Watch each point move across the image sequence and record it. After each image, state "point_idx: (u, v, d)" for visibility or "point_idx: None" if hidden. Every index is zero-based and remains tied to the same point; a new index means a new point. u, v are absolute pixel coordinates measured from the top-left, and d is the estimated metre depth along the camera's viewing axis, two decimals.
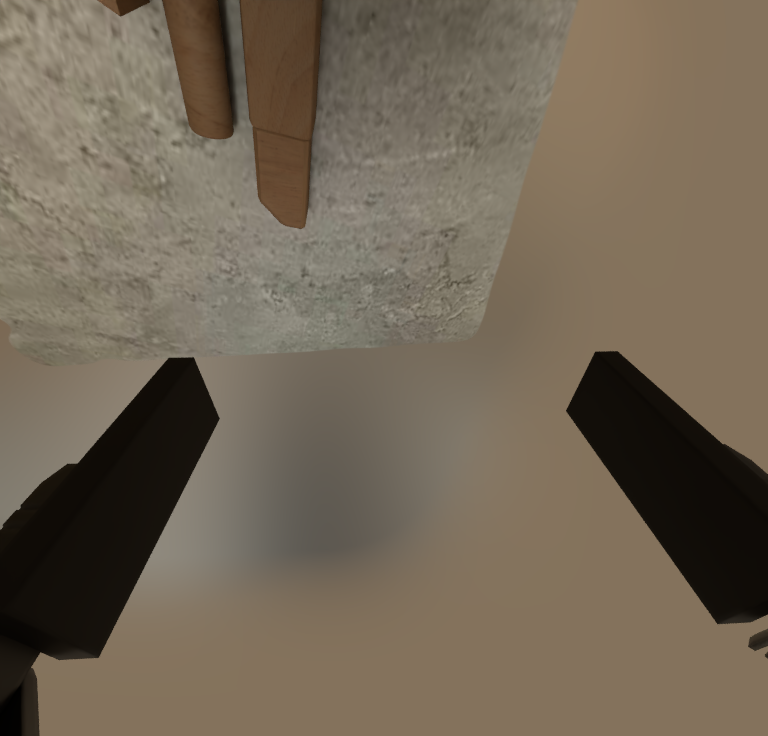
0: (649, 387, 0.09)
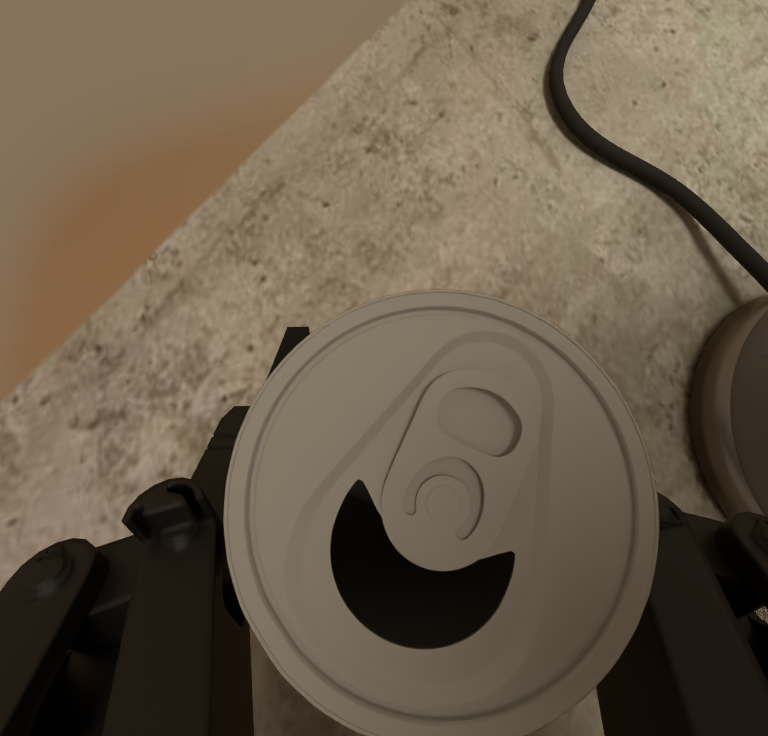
0: None
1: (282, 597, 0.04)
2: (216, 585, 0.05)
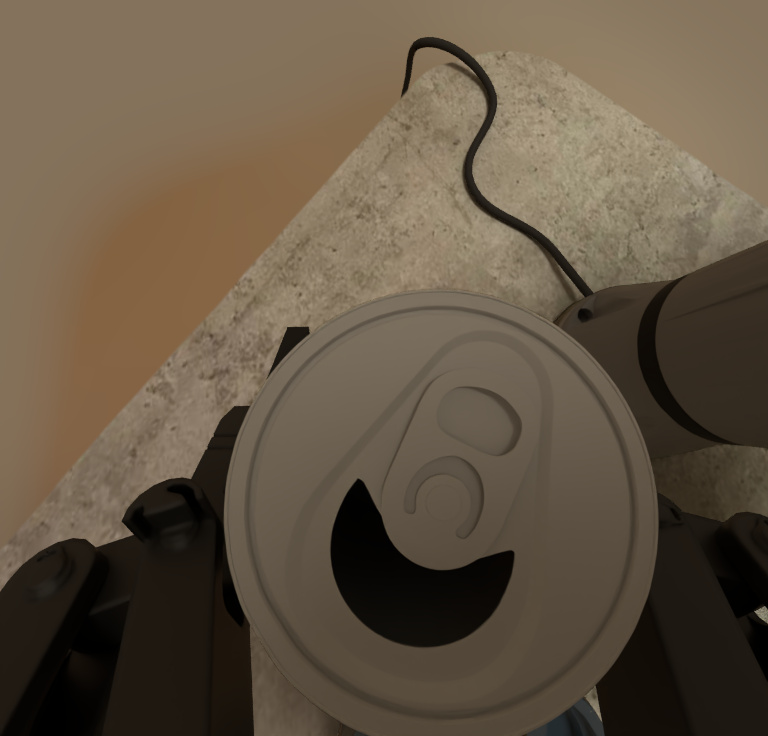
0: None
1: (282, 596, 0.04)
2: (216, 585, 0.05)
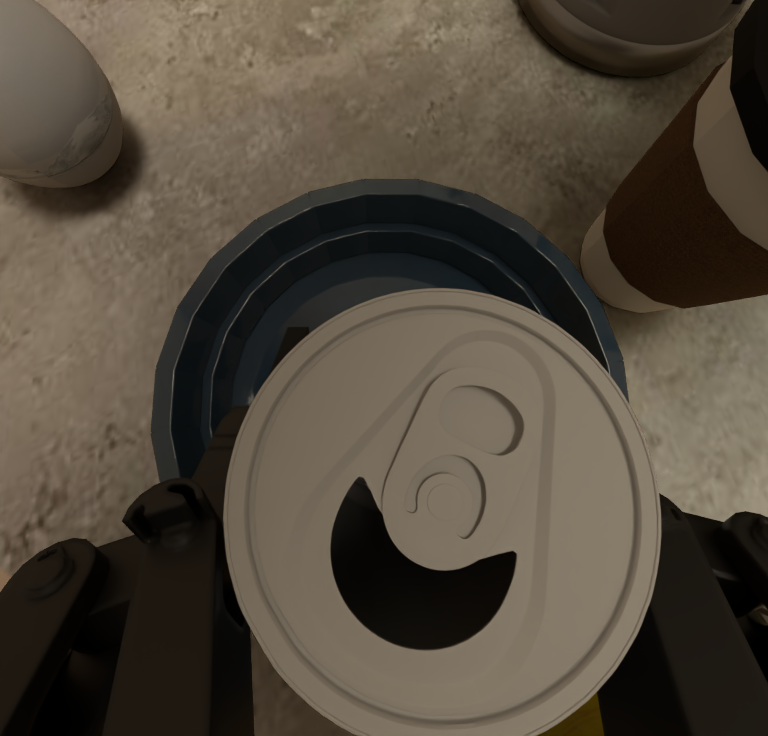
0: None
1: (281, 595, 0.04)
2: (216, 585, 0.05)
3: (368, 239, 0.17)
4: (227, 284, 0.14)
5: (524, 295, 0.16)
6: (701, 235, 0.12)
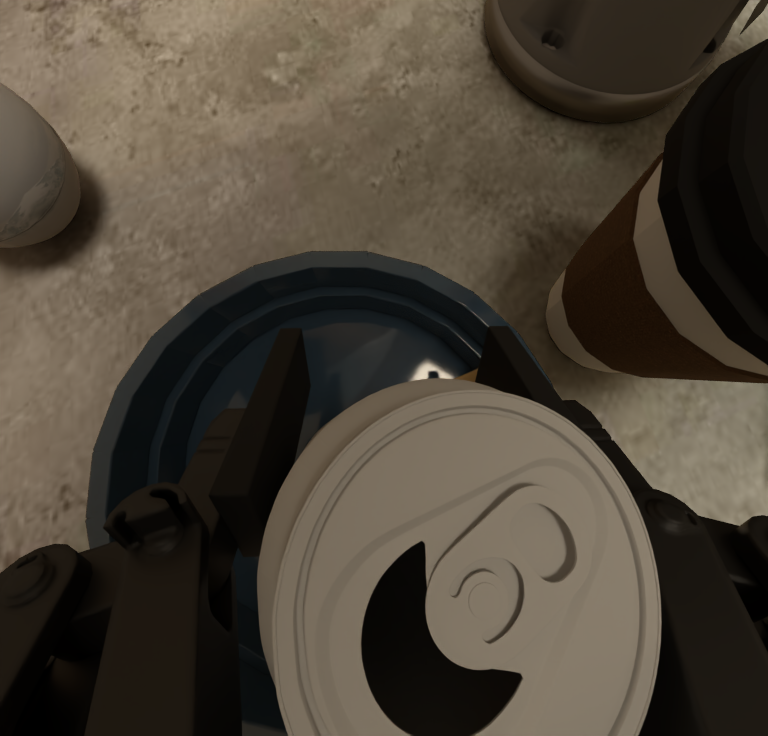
0: (520, 353, 0.10)
1: (311, 621, 0.04)
2: (201, 590, 0.05)
3: (324, 301, 0.17)
4: (172, 358, 0.14)
5: None
6: (644, 327, 0.11)
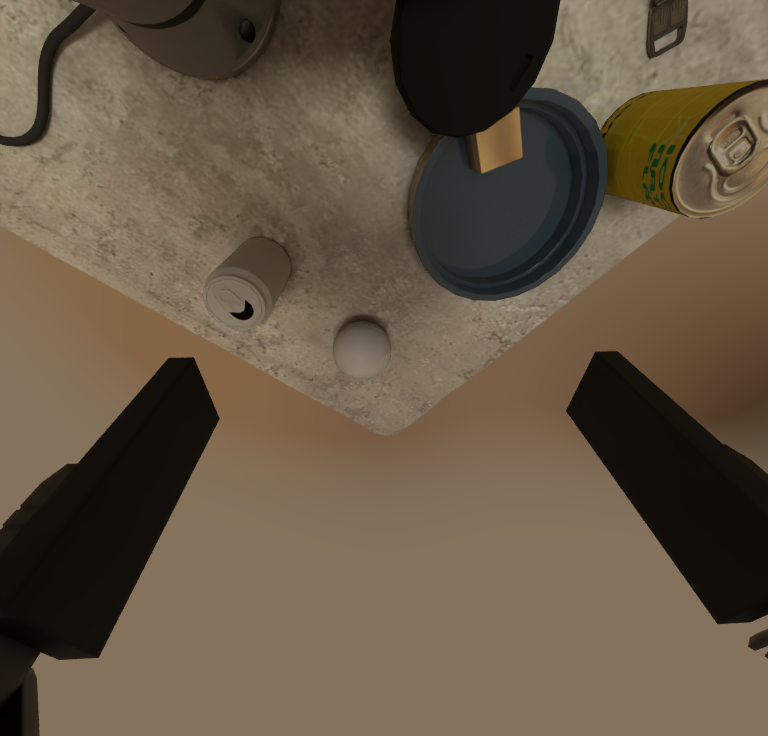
0: (649, 387, 0.09)
1: (241, 325, 0.32)
2: None
3: None
4: (445, 278, 0.38)
5: None
6: None
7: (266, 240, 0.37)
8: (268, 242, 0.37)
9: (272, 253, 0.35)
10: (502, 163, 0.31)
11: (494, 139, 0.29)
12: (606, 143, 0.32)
